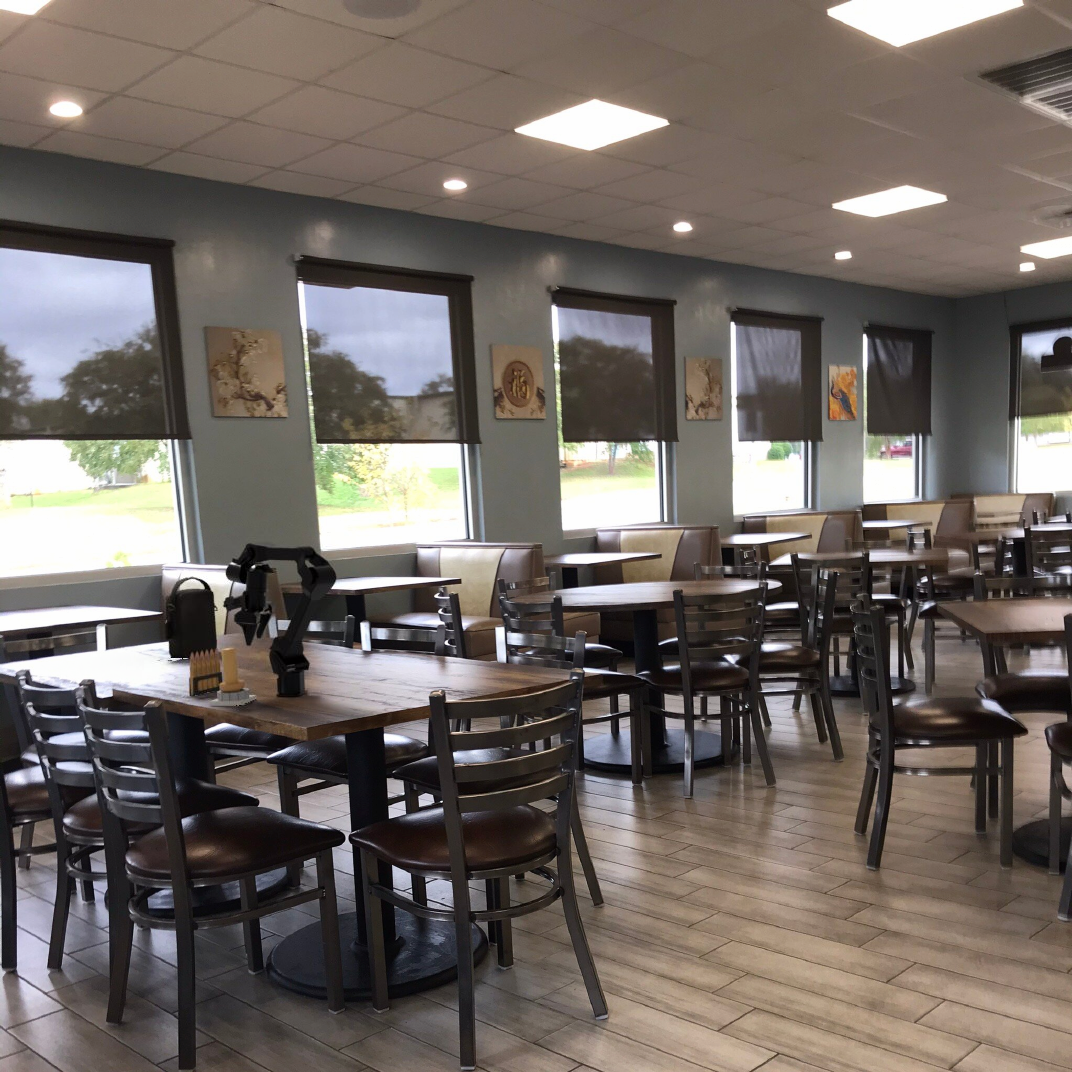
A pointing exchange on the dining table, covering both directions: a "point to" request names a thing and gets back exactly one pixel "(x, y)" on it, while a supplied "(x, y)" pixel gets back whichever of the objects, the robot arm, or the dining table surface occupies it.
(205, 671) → the ammunition clip
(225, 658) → the tan peg
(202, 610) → the shoulder bag
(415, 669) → the dining table surface
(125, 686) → the dining table surface
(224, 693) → the housing
